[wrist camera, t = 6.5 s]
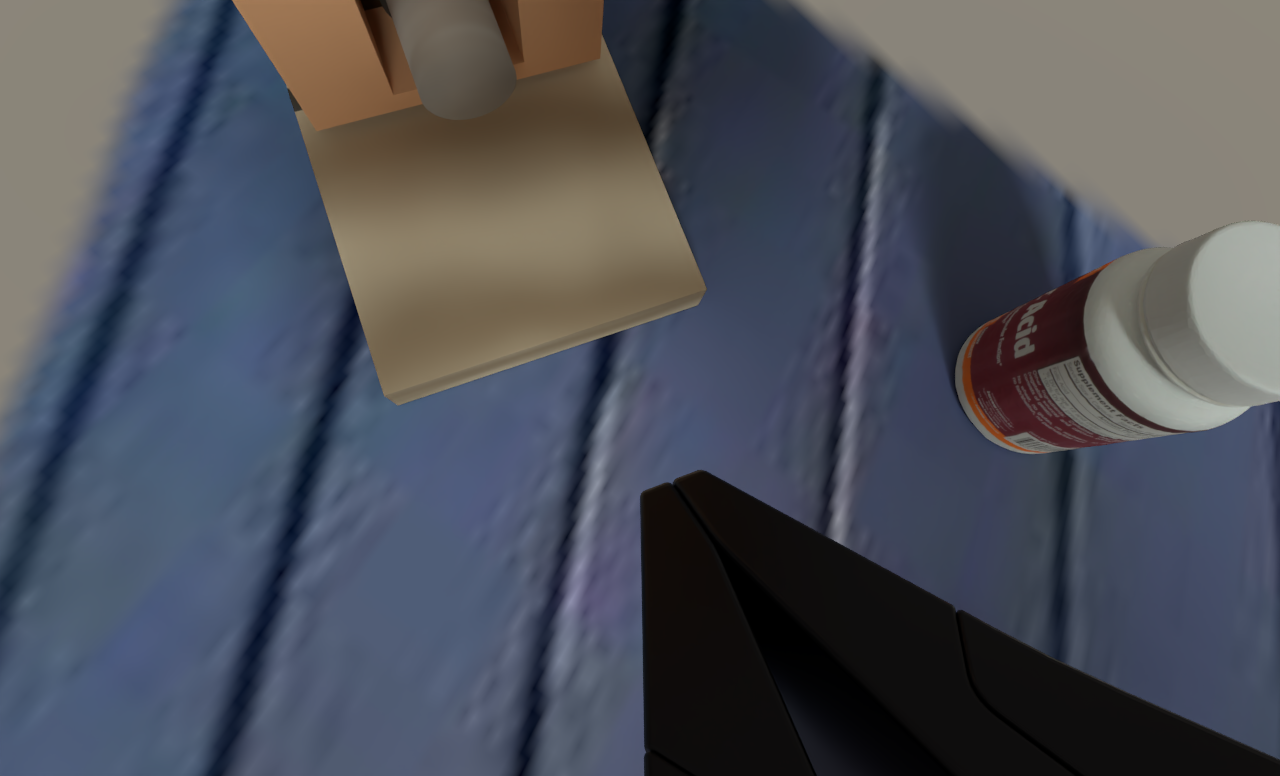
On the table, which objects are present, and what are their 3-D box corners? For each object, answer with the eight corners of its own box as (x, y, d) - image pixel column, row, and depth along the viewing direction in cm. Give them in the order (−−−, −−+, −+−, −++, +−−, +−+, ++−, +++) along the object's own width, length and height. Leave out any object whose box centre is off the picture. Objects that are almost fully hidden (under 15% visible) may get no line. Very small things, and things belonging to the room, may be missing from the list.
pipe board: (697, 305, 21) (813, 104, 11) (398, 405, 20) (212, 275, 10) (563, -25, 24) (557, -445, 13) (282, 40, 22) (29, -384, 12)
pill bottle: (1007, 292, 23) (1250, 162, 15) (1107, 391, 22) (1415, 314, 14) (921, 380, 22) (1132, 292, 14) (1024, 485, 21) (1306, 460, 13)
